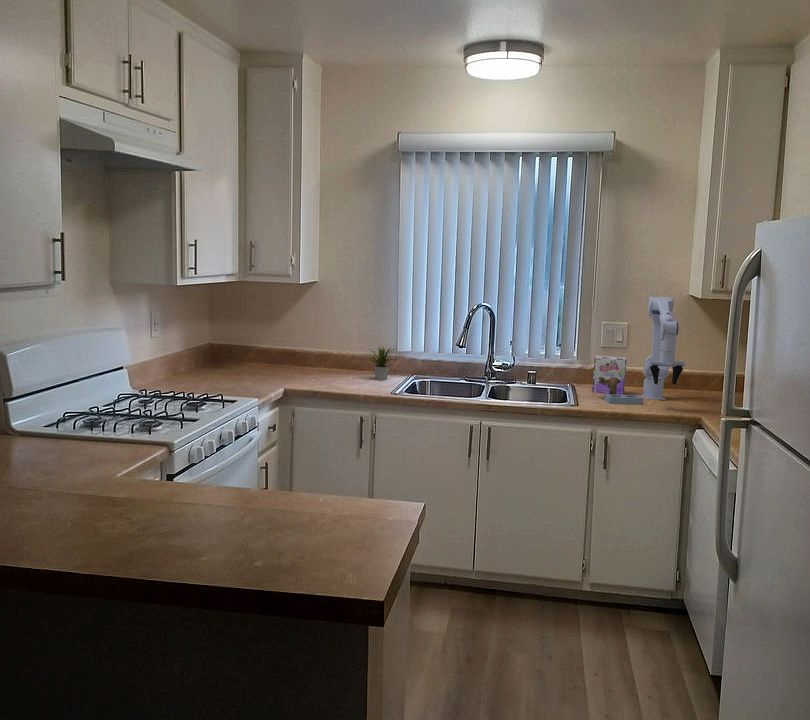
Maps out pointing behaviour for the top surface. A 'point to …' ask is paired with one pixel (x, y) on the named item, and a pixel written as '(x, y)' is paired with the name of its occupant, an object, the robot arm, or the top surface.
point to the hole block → (623, 399)
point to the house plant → (381, 364)
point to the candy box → (608, 373)
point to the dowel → (613, 385)
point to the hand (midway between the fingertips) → (664, 384)
